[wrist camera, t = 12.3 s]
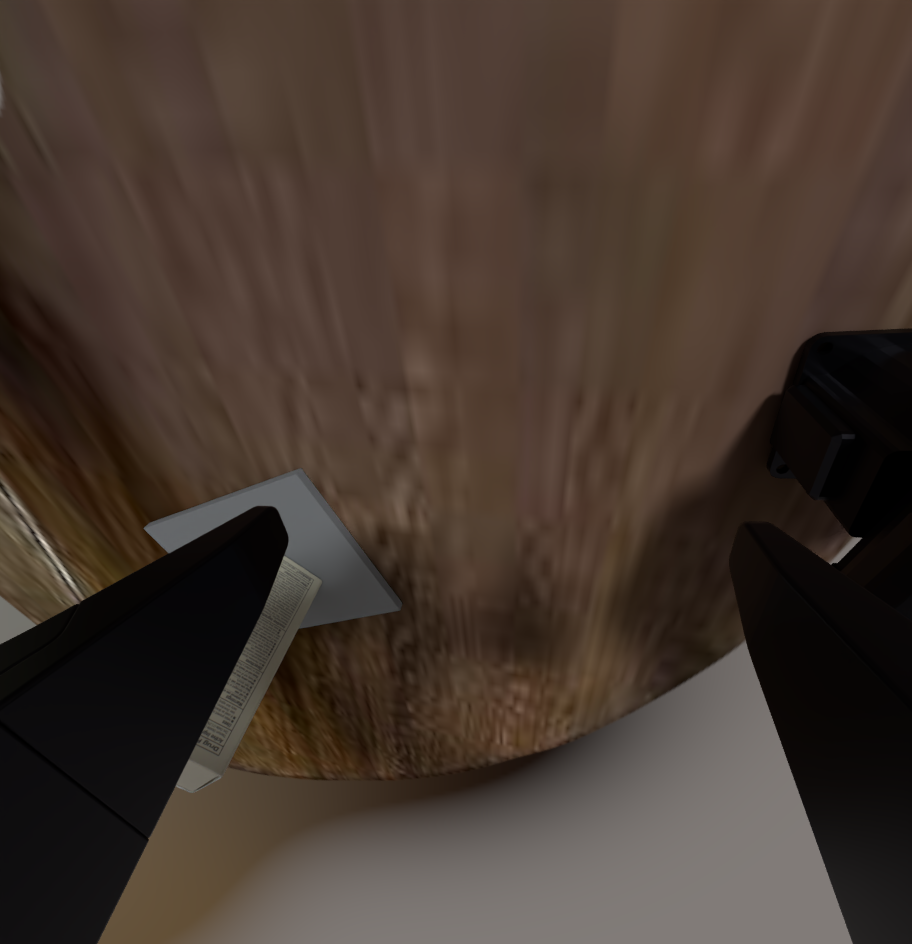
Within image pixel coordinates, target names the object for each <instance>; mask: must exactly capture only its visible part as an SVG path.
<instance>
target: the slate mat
mask: <svg viewBox="0 0 912 944" xmlns="http://www.w3.org/2000/svg"><path fill="white" fill-rule="evenodd" d="M255 506H273V507H275V508H276V509H277V510H278V511H279V514H280V516H281V518H282V521H283V523H284V526H285V528H286V530H287V533H288V537H289V542H288V547H287V550H286V552H285V555H284V556H286V557H287V558H289V559H290V560H292V561H293V562H295V563H297V564H298V565H300V566H301V567H303V568H304V569H306V570H307V571H309V572H310V573H312V574H313V575H315V576H316V577H318V578H319V579H321V580H322V584H321V586H320V588H319V590H318V592H317V594H316V596H315V598H314V600H313V601H312V603H311V605H310V607H309V609H308V611H307V613H306V615H305V617H304V619H303V621H302V623H301V625H300V627H299V629H300V628H306V627H311V626H317V625H323V624H328V623H334V622H339V621H345V620H350V619H356V618H361V617H367V616H372V615H378V614H383V613H389V612H394V611H400V609H401V607H402V604H403V603H402V602H401V601H400V599H399V598H398V597H397V595H396V594H395V593H394V591H393V590H392V589H391V587H390V586H389V585H388V583H387V582H386V581H385V579H384V578H383V577H382V575H381V574H380V573H379V571H378V570H377V569H376V567H375V566H374V565H373V563H372V562H371V561H370V559H369V558H368V557H367V555H366V554H365V553H364V551H363V550H362V549H361V547H360V546H359V545H358V543H357V542H356V541H355V539H354V538H353V537H352V535H351V534H350V533H349V531H348V530H347V529H346V527H345V526H344V525H343V523H342V522H341V521H340V519H339V518H338V517H337V515H336V514H335V513H334V511H333V510H332V509H331V507H330V506H329V505H328V503H327V502H326V501H325V499H324V498H323V497H322V495H321V494H320V493H319V491H318V490H317V489H316V487H315V486H314V485H313V483H312V482H311V481H310V479H309V478H308V477H307V475H306V474H305V473H304V471H303V470H302V469H301V468H300V469H297V470H294V471H292V472H289V473H286V474H283V475H280V476H278V477H275V478H272V479H269V480H267V481H264V482H261V483H258V484H256V485H253V486H250V487H247V488H245V489H242V490H239V491H236V492H234V493H231V494H228V495H225V496H222V497H220V498H217V499H214V500H211V501H209V502H206V503H203V504H200V505H198V506H195V507H192V508H189V509H187V510H184V511H181V512H178V513H176V514H173V515H170V516H167V517H165V518H162V519H159V520H156V521H153V522H151V523H149V524H148V525H147V526H146V527H145V528H144V529H145V530H146V531H147V532H148V533H149V534H150V535H151V536H152V537H153V538H154V539H155V540H156V541H157V542H158V543H159V544H160V545H161V546H162V547H163V548H164V549H165V550H166V551H167V552H168V553H171V552H172V551H174V550H176V549H178V548H180V547H182V546H183V545H185V544H187V543H189V542H191V541H192V540H194V539H196V538H198V537H200V536H202V535H203V534H205V533H207V532H209V531H211V530H213V529H214V528H216V527H218V526H220V525H222V524H224V523H225V522H227V521H229V520H231V519H233V518H234V517H236V516H238V515H240V514H242V513H244V512H245V511H247V510H249V509H251V508H253V507H255Z"/></svg>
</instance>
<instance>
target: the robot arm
mask: <svg viewBox="0 0 912 944" xmlns="http://www.w3.org/2000/svg"><path fill="white" fill-rule="evenodd" d="M826 342H828V345H827V347H826V348H825V349H824V350H822V351H819V352H817V349H818V347H819V346H820V345H821V344H823V343H826ZM770 443H771V444H772V445H773V447H772V450H771V453H770V456H769V459H768V462H767V469H768V471H769V472H770V474H771V475H772V476H773V477H775V478H795V479H797V480H798V481H799V483H800V484H801V485H802V487H803V488H804V489H805V491H806V492H807V494H808V495H809V496H810V497H811V498H812V499H814V500H824V502H825V503H826V504H827V506H828V507H829V508H830V510H831V511H832V512H833V514H834V515H835V516H836V518H837V519H838V520H839V522H840V523H841V524H842V525H843V527H844V528H845V529H846V531H847V532H848V533H849V534H850V535H851V536H852V537H861V538H862V539H861V540H860V541H859V542H858V543H857V544H856V545H855V546H854V547H853V548H852V549H851V550H850V551H849V552H848V553H847V554H846V555H845V556H844V557H843V558H842V559H841V560H840V561H839V562H838V563H833V564H832V565H830V564H829V563H828V562H826V561H825V560H823V559H822V558H820V557H819V556H817V555H816V554H815V553H813V552H812V551H810V550H809V549H807V548H806V547H804V546H803V545H802V544H800V543H799V542H797V541H796V540H794V539H793V538H791V537H790V536H789V535H787V534H786V533H784V532H783V531H781V530H780V529H779V528H777V527H776V526H774V525H773V524H771V523H768V522H752V521H745V522H743V523H741V524H740V526H739V528H738V531H737V534H736V537H735V540H734V543H733V547H732V550H731V553H730V558H729V567H730V572H731V577H732V581H733V586H734V590H735V595H736V599H737V604H738V608H739V612H740V617H741V621H742V626H743V630H744V635H745V639H746V643H747V647H748V650H749V653H750V656H751V659H752V662H753V665H754V668H755V671H756V674H757V677H758V679H759V682H760V685H761V688H762V691H763V693H764V696H765V699H766V702H767V705H768V707H769V710H770V713H771V716H772V718H773V721H774V724H775V727H776V730H777V732H778V735H779V738H780V741H781V744H782V746H783V749H784V752H785V755H786V758H787V761H788V763H789V766H790V769H791V772H792V774H793V777H794V780H795V783H796V786H797V788H798V791H799V794H800V797H801V800H802V803H803V805H804V808H805V811H806V814H807V817H808V819H809V822H810V825H811V827H812V831H813V833H814V836H815V839H816V842H817V845H818V847H819V850H820V853H821V856H822V859H823V861H824V864H825V867H826V870H827V872H828V875H829V878H830V881H831V884H832V887H833V889H834V892H835V895H836V898H837V901H838V903H839V906H840V909H841V912H842V915H843V917H844V920H845V923H846V926H847V929H848V932H849V934H850V937H851V940H852V942H853V944H912V329H889V330H866V331H843V332H824V333H819V334H817V335H815V336H813V337H812V338H811V339H810V340H808V342H807V344H806V346H805V349H804V352H803V355H802V358H801V361H800V364H799V367H798V370H797V373H796V376H795V379H794V382H793V385H792V386H791V387H789V388H788V389H787V390H786V392H785V395H784V398H783V401H782V404H781V407H780V410H779V413H778V416H777V420H776V423H775V426H774V429H773V432H772V435H771V438H770ZM783 464H786V465H785V466H784V467H783V468H780V469H777V467H778V466H780V465H783ZM288 542H289V537H288V533H287V530H286V528H285V526H284V523H283V521H282V518H281V516H280V514H279V511H278V510H277V509H276V508H275V507H273V506H255V507H253V508H251V509H249V510H247V511H245V512H244V513H242V514H240V515H238V516H236V517H234V518H233V519H231V520H229V521H227V522H225V523H224V524H222V525H220V526H218V527H216V528H214V529H213V530H211V531H209V532H207V533H205V534H203V535H202V536H200V537H198V538H196V539H194V540H192V541H191V542H189V543H187V544H185V545H183V546H182V547H180V548H178V549H176V550H174V551H172V552H171V553H169V554H167V555H165V556H163V557H161V558H160V559H158V560H156V561H154V562H152V563H151V564H149V565H147V566H145V567H143V568H141V569H140V570H138V571H136V572H134V573H132V574H130V575H129V576H127V577H125V578H123V579H121V580H119V581H118V582H116V583H114V584H112V585H110V586H109V587H107V588H105V589H103V590H101V591H99V592H98V593H96V594H94V595H92V596H90V597H88V598H87V599H85V600H83V601H81V603H80V604H76V605H74V606H72V607H70V608H68V609H66V610H65V611H63V612H61V613H59V614H57V615H55V616H54V617H52V618H50V619H48V620H46V621H44V622H42V623H40V624H39V625H37V626H35V627H33V628H31V629H29V630H27V631H25V632H24V633H22V634H20V635H18V636H16V637H14V638H12V639H10V640H8V641H6V642H4V643H2V644H0V944H97V943H98V941H99V939H100V937H101V935H102V933H103V931H104V929H105V927H106V925H107V923H108V921H109V919H110V917H111V915H112V913H113V911H114V909H115V907H116V905H117V903H118V901H119V899H120V897H121V895H122V893H123V891H124V889H125V887H126V885H127V883H128V881H129V879H130V877H131V875H132V873H133V871H134V869H135V867H136V865H137V863H138V861H139V859H140V857H141V855H142V853H143V851H144V849H145V847H146V845H147V843H148V841H149V839H148V838H149V837H150V836H151V834H152V832H153V830H154V828H155V826H156V824H157V822H158V820H159V818H160V816H161V814H162V812H163V810H164V808H165V806H166V804H167V802H168V800H169V798H170V796H171V794H172V792H173V790H174V788H175V786H176V784H177V782H178V780H179V778H180V776H181V774H182V772H183V770H184V768H185V766H186V764H187V762H188V760H189V758H190V756H191V754H192V752H193V750H194V748H195V746H196V744H197V742H198V740H199V738H200V736H201V734H202V732H203V730H204V728H205V726H206V724H207V722H208V720H209V718H210V716H211V714H212V712H213V710H214V708H215V706H216V704H217V702H218V700H219V698H220V696H221V694H222V692H223V690H224V688H225V686H226V684H227V682H228V680H229V678H230V676H231V674H232V672H233V670H234V668H235V666H236V664H237V662H238V660H239V658H240V656H241V654H242V652H243V650H244V648H245V646H246V644H247V642H248V640H249V638H250V636H251V634H252V632H253V630H254V628H255V626H256V624H257V622H258V620H259V618H260V616H261V613H262V611H263V609H264V607H265V604H266V602H267V600H268V597H269V595H270V592H271V589H272V587H273V584H274V581H275V579H276V576H277V573H278V571H279V568H280V565H281V563H282V560H283V557H284V555H285V552H286V550H287V547H288Z"/></svg>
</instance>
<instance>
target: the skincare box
mask: <svg viewBox="0 0 912 944" xmlns="http://www.w3.org/2000/svg"><path fill="white" fill-rule="evenodd" d="M321 584H322V580H321V579H319V578H318V577H316V576H315V575H313V574H312V573H310V572H309V571H307V570H306V569H304V568H303V567H301V566H300V565H298V564H297V563H295V562H293V561H292V560H290V559H289V558H287V557H286V556H284V557H283V560H282V563H281V565H280V568H279V571H278V573H277V576H276V579H275V581H274V584H273V587H272V589H271V592H270V595H269V597H268V600H267V602H266V604H265V607H264V609H263V611H262V613H261V616H260V618H259V620H258V622H257V624H256V626H255V628H254V630H253V632H252V634H251V636H250V638H249V640H248V642H247V644H246V646H245V648H244V650H243V652H242V654H241V656H240V658H239V660H238V662H237V664H236V666H235V668H234V670H233V672H232V674H231V676H230V678H229V680H228V682H227V684H226V686H225V688H224V690H223V692H222V694H221V696H220V698H219V700H218V702H217V704H216V706H215V708H214V710H213V712H212V714H211V716H210V718H209V720H208V722H207V724H206V726H205V728H204V730H203V732H202V734H201V736H200V738H199V740H198V742H197V744H196V746H195V748H194V750H193V752H192V754H191V756H190V758H189V760H188V762H187V764H186V766H185V768H184V770H183V772H182V774H181V776H180V778H179V780H178V782H177V784H176V786H177V787H178V788H181V789H183V790H186V791H187V792H190V793H194V792H196V791H198V790H199V789H201V788H204V787H205V786H207V785H209V784H211V783H213V782H215V781H216V780H218V779H220V778H222V776H223V774H224V773H225V771H226V769H227V767H228V765H229V763H230V761H231V759H232V757H233V755H234V753H235V751H236V749H237V747H238V745H239V743H240V741H241V739H242V737H243V735H244V733H245V731H246V729H247V727H248V725H249V723H250V721H251V720H252V718H253V716H254V714H255V712H256V710H257V708H258V706H259V704H260V702H261V700H262V698H263V697H264V695H265V693H266V691H267V689H268V687H269V685H270V683H271V681H272V679H273V677H274V675H275V673H276V671H277V669H278V667H279V665H280V664H281V662H282V660H283V658H284V656H285V654H286V652H287V650H288V648H289V646H290V644H291V642H292V640H293V638H294V636H295V634H296V632H297V630H298V629H299V627H300V625H301V623H302V621H303V619H304V617H305V615H306V613H307V611H308V609H309V607H310V605H311V603H312V601H313V600H314V598H315V596H316V594H317V592H318V590H319V588H320V586H321Z"/></svg>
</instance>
